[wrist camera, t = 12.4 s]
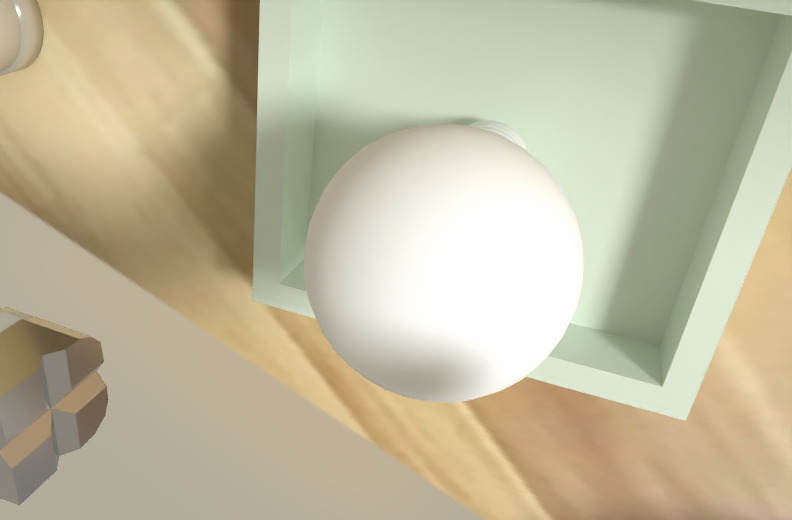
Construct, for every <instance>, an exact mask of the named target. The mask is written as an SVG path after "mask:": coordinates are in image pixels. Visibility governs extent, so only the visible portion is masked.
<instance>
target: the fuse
mask: <svg viewBox="0 0 792 520" xmlns="http://www.w3.org/2000/svg"><path fill="white" fill-rule="evenodd" d="M43 33H44V31H43V21H42V16H41V12H40V8H39V6H38V3H37V1H36V0H0V75H2V74H7V73H11V72H15V71H19V70H22V69H25V68H27V67H28V66H30V65H31V64H32V63H33V62H34V61H35V60H36V58H37V57H38V55H39V53H40V51H41V47H42V43H43Z"/></svg>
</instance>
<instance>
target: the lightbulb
mask: <svg viewBox="0 0 792 520" xmlns="http://www.w3.org/2000/svg"><path fill="white" fill-rule="evenodd" d="M583 271H584V262H583V241H582V237H581V233H580V230H579V226H578V222H577V218H576V216H575V214H574V212H573V210H572V208H571V206H570V204H569V202H568V200H567V198H566V196H565V194H564V192H563V190H562V188H561V187H560V185H559V184H558V182H557V181H556V180H555V179H554V177H553V176H552V175H551V174H550V172H549V171H548V170H547V169H546V167H545V166H544V165H543V164H542V163H541V162H540V161H538V160H537V159H536V158H535V157H534V156H532V155H531V154H530V153H529V152H528V151H527V148H526V145H525V143H524V141H523V139H522V138H521V136H520V135H519V134H518V133H517V132H516V131H515V130H514V129H513V128H511V127H510V126H508V125H506V124H504V123H501V122H498V121H492V120H484V121H478V122H474V123H472V124H470V125H468V126H467V125H459V124H451V123H444V124H430V125H421V126H417V127H413V128H410V129H406V130H402V131H399V132H395V133H392V134H388V135H386V136H384V137H382V138H380V139H379V140H377V141H375V142H373V143H371V144H369V145H367V146H365V147H364V148H363V149H362V150H361V151H359V152H358V153H357V154H356V155H355V156H353V157H352V158H351V159H350V160H349V161H347V162H346V163H345V164H344V165H343V166H342V167H341V168H340V169H339V170H338V172H337V173H336V174H335V176H334V177H333V178H332V180H331V181H330V182H329V184H328V185H327V186H326V188H325V189H324V190H323V192H322V195H321V197H320V199H319V201H318V204H317V206H316V208H315V210H314V213H313V215H312V218H311V220H310V223H309V227H308V232H307V237H306V242H305V250H304V282H305V286H306V290H307V295H308V299H309V303H310V305H311V308H312V310H313V312H314V315H315V317H316V319H317V322H318V324H319V326H320V328H321V331H322V333H323V334H324V336H325V337H326V339H327V340H328V342H329V343H330V345H331V346H332V348H333V349H334V350H335V351H336V352H337V353H338V355H339V356H340V357H341V358H342V359H343V360H344V361H345V362H346V363H347V364H348V365H349V366H350V367H352V368H353V369H354V370H355V371H357V372H358V373H359V374H361V375H362V376H363V377H364V378H366V379H367V380H369V381H371V382H373V383H374V384H376V385H378V386H380V387H382V388H383V389H385V390H388V391H391V392H393V393H396V394H399V395H401V396H404V397H408V398H413V399H417V400H422V401H427V402H446V403H450V402H458V401H467V400H472V399H475V398H479V397H482V396H485V395H489V394H492V393H495V392H498V391H501V390H503V389H505V388H507V387H509V386H511V385H513V384H515V383H516V382H518V381H520V380H522V379H523V378H524V377H525V376H527V375H528V374H529V373H530V372H531V371H533V370H534V369H535V368H536V367H538V366H539V365H540V364H541V363H542V362H543V361H544V360H545V359H546V358H547V357H548V355H549V354H550V353H551V352H552V350H553V349H554V348H555V346H556V345H557V344H558V343H559V341H560V340H561V339H562V337H563V335H564V333H565V331H566V329H567V327H568V325H569V323H570V321H571V319H572V316H573V314H574V312H575V310H576V308H577V306H578V302H579V297H580V293H581V288H582V283H583Z"/></svg>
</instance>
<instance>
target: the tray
mask: <svg viewBox="0 0 792 520" xmlns="http://www.w3.org/2000/svg"><path fill="white" fill-rule="evenodd" d="M484 120H492V121H498V122H501V123H504V124H506V125H508V126H510V127H511V128H513V129H514V130H515V131H516V132H517V133H518V134H519V135H520V136H521V138H522V139H523V141H524V143H525V145H526V148H527V151H528V152H529V153H530V154H531V155H532V156H534V157H535V158H536V159H537V160H538V161H540V162H541V163H542V164H543V165H544V166H545V167H546V169H547V170H548V171H549V172H550V174H551V175H552V176H553V177H554V179H555V180H556V181H557V182H558V184H559V185H560V187H561V188H562V190H563V192H564V194H565V196H566V198H567V200H568V202H569V204H570V206H571V208H572V210H573V212H574V214H575V216H576V218H577V222H578V226H579V230H580V233H581V237H582V241H583V262H584V271H583V283H582V288H581V293H580V297H579V302H578V306H577V308H576V310H575V312H574V314H573V316H572V319H571V321H570V323H569V325H568V327H567V329H566V331H565V333H564V335H563V337H562V339H561V340H560V341H559V343H558V344H557V345H556V346H555V348H554V349H553V350H552V352H551V353H550V354H549V355H548V357H547V358H546V359H545V360H544V361H543V362H542V363H541V364H540V365H539V366H538V367H536V368H535V369H534V370H533V371H531V372H530V373H529V374H528V375H527V376H525V377H529V378H533V379H536V380H540V381H544V382H547V383H551V384H554V385H558V386H562V387H565V388H569V389H573V390H576V391H580V392H583V393H587V394H591V395H594V396H598V397H601V398H605V399H609V400H612V401H616V402H620V403H623V404H627V405H630V406H634V407H638V408H641V409H645V410H649V411H652V412H656V413H659V414H663V415H667V416H670V417H674V418H677V419H681V420H685V421H686V419H687V416H688V414H689V412H690V409H691V407H692V404H693V402H694V400H695V397H696V395H697V392H698V390H699V388H700V385H701V383H702V380H703V378H704V376H705V373H706V371H707V368H708V366H709V364H710V361H711V359H712V356H713V354H714V352H715V349H716V347H717V344H718V342H719V340H720V337H721V335H722V332H723V330H724V328H725V325H726V323H727V320H728V318H729V316H730V313H731V311H732V309H733V306H734V304H735V301H736V299H737V297H738V294H739V292H740V289H741V287H742V285H743V282H744V280H745V277H746V275H747V273H748V270H749V268H750V265H751V263H752V261H753V258H754V256H755V253H756V251H757V249H758V246H759V244H760V241H761V239H762V237H763V234H764V232H765V229H766V227H767V225H768V222H769V220H770V217H771V215H772V213H773V210H774V208H775V205H776V203H777V201H778V198H779V196H780V193H781V191H782V189H783V186H784V184H785V181H786V179H787V177H788V174H789V172H790V169H791V167H792V0H260V18H259V57H258V96H257V136H256V175H255V214H254V254H253V293H252V301H254V302H258V303H261V304H265V305H268V306H272V307H276V308H279V309H283V310H287V311H290V312H294V313H297V314H301V315H305V316H308V317H312V318H316V317H315V315H314V312H313V310H312V308H311V305H310V303H309V299H308V295H307V290H306V286H305V282H304V250H305V242H306V237H307V232H308V227H309V223H310V220H311V218H312V215H313V213H314V210H315V208H316V206H317V204H318V201H319V199H320V197H321V195H322V192H323V190H324V189H325V188H326V186H327V185H328V184H329V182H330V181H331V180H332V178H333V177H334V176H335V174H336V173H337V172H338V170H339V169H340V168H341V167H342V166H343V165H344V164H345V163H346V162H347V161H349V160H350V159H351V158H352V157H353V156H355V155H356V154H357V153H358V152H359V151H361V150H362V149H363V148H364V147H365V146H367V145H369V144H371V143H373V142H375V141H377V140H379V139H380V138H382V137H384V136H386V135H388V134H392V133H395V132H399V131H402V130H406V129H410V128H413V127H417V126H421V125H430V124H444V123H451V124H459V125H467V126H468V125H470V124H472V123H474V122H478V121H484Z"/></svg>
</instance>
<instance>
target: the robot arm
mask: <svg viewBox="0 0 792 520" xmlns="http://www.w3.org/2000/svg"><path fill="white" fill-rule="evenodd" d="M103 362H104V360H103V354H102V349H101V343H100V342H99V341H97V340H96V339H94V338H92V337H91V336H88V335H85V334H82V333H79V332H77V331H74V330H71V329H68V328H66V327H63V326H60V325H57V324H54V323H51V322H49V321H46V320H43V319H40V318H38V317H33V316H30V315H27V314H24V313H22V312H19V311H16V310H13V309H10V308H0V498H1V499H4V500H7V501H9V502H12V503H15V504H18V505H20V504H21V503H23V502H24V501H25V500H26V499H27V498H28V497H29V496H30V495H31V494H32V493H33V492H34V491H35V490H36V489H38V488H39V487H40V486H41V485H42V484H43V483H44V482H45V481H46V480H47V479H48V478H49V477H50V476H51V475H53V474H54V472H56V470H57V465H58V460H59V456H60V455H63V454H66V453H69V452H72V451H74V450H77V449H80V448H81V447H82V446H83V445H84V444H85V443H86V442H87V441H88V440H89V439H90V438H91V437H92V436H93V435H94V434H95V433H96V431H97V429H98V427H99V425H100V424H101V422H102V420H103V418H104V416H105V413H106V408H107V403H108V394H107V386H106V384H105V383H104V381H103V380H102V379H101V377H100V375H99V374H98V373H97V371H96V370H97V369H98V368H99V367H100V365H101V364H102V363H103Z"/></svg>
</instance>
